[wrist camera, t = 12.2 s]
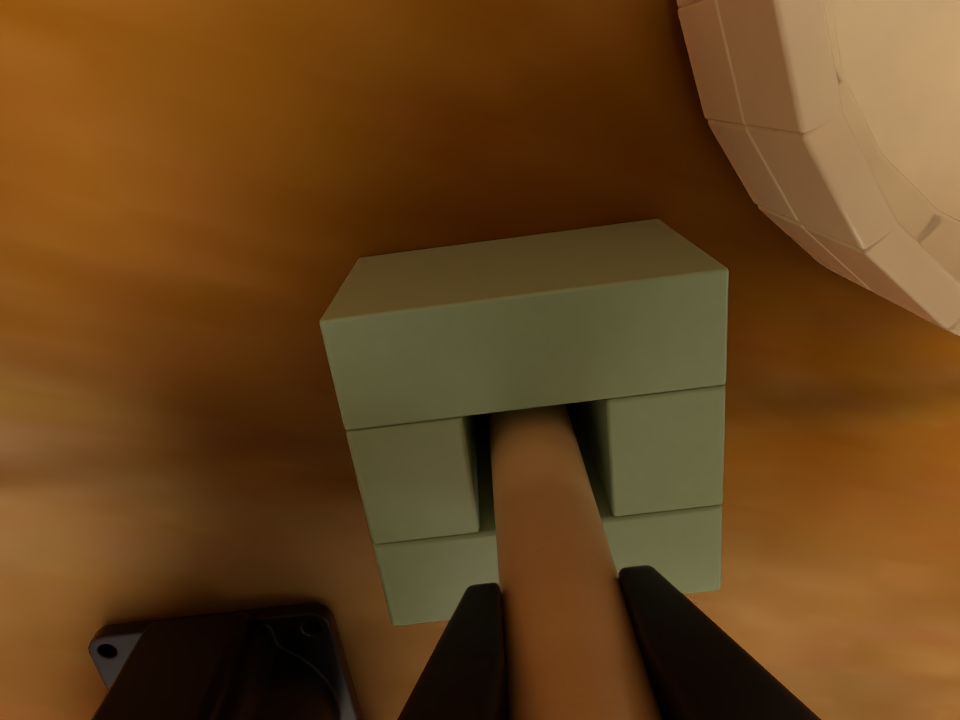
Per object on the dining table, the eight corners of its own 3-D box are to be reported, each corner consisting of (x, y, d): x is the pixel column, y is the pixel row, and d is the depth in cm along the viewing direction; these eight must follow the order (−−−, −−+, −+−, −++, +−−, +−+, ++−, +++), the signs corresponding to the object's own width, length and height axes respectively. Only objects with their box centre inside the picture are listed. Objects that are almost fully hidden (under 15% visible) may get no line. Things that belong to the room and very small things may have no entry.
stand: (664, 475, 16) (722, 592, 12) (408, 505, 16) (391, 629, 13) (659, 217, 14) (730, 268, 10) (357, 257, 14) (317, 320, 10)
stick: (558, 404, 15) (740, 1045, 5) (490, 412, 15) (537, 1063, 5) (552, 340, 15) (748, 928, 4) (481, 350, 15) (514, 949, 4)
